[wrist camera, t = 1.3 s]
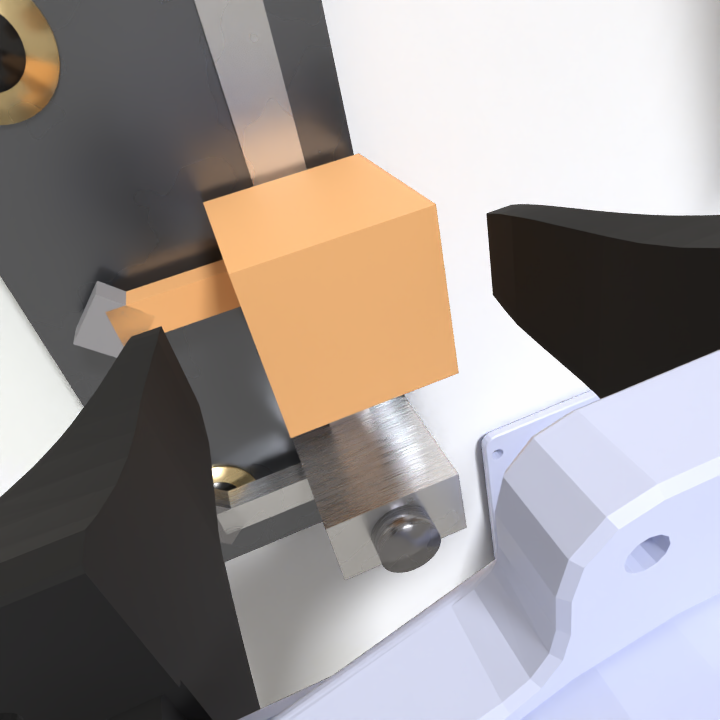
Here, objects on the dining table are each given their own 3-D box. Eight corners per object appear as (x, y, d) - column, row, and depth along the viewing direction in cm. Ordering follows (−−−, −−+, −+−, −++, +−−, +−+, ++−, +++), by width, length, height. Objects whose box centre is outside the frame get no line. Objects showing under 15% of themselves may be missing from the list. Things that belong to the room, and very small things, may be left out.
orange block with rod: (387, 292, 17) (458, 372, 13) (112, 390, 15) (105, 510, 12) (358, 153, 14) (435, 204, 11) (33, 256, 13) (-5, 352, 9)
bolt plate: (409, 459, 23) (484, 582, 18) (189, 549, 21) (205, 708, 17) (237, -319, 11) (322, -581, 6) (-290, -228, 9) (-734, -471, 5)
